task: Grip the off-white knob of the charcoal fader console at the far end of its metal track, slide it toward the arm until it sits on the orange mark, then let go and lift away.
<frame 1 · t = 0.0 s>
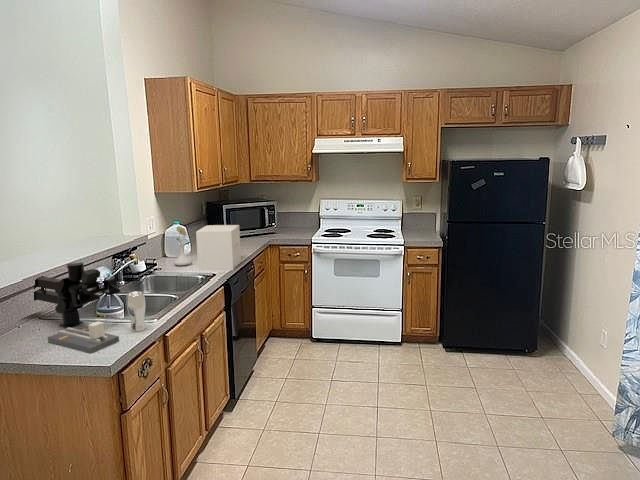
hand: (109, 294, 177), 17 cm above the worktop, tool horizontal, fingers open, 9 cm apart
beer glass: (138, 329, 185), on the worktop
fader console: (83, 341, 173), on the worktop
flower in vase: (182, 264, 294), on the worktop
cube: (220, 266, 291), on the worktop
fader knob: (96, 331, 169), point 5 cm above the worktop, slide at 8.0 cm
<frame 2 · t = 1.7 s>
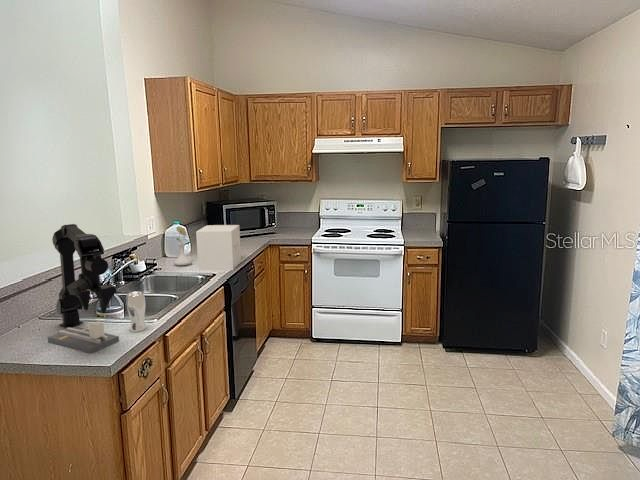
hand: (94, 311, 167), 13 cm above the worktop, tool pointing down, fingers open, 9 cm apart
nothing on the worktop moved.
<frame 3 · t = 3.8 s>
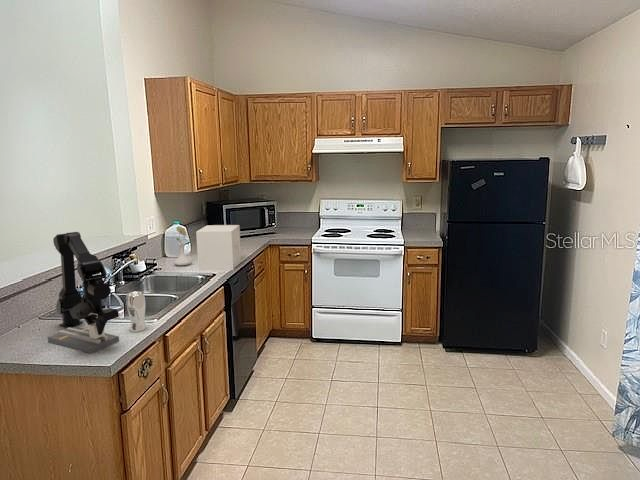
hand: (97, 333, 169), 5 cm above the worktop, tool pointing down, fingers closed on fader knob, 3 cm apart
fader knob: (96, 331, 169), point 5 cm above the worktop, slide at 8.0 cm, touching gripper
everything else where it was.
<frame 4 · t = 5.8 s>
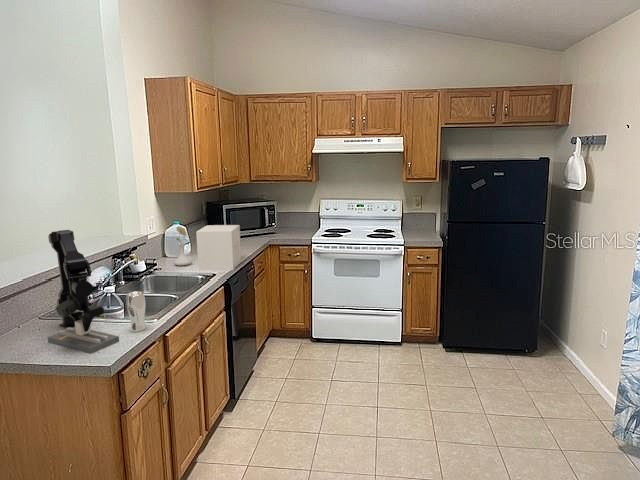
hand: (83, 330, 172), 4 cm above the worktop, tool pointing down, fingers closed on fader knob, 3 cm apart
fader knob: (83, 328, 172), point 5 cm above the worktop, slide at 0.4 cm, touching gripper
everything else where it was.
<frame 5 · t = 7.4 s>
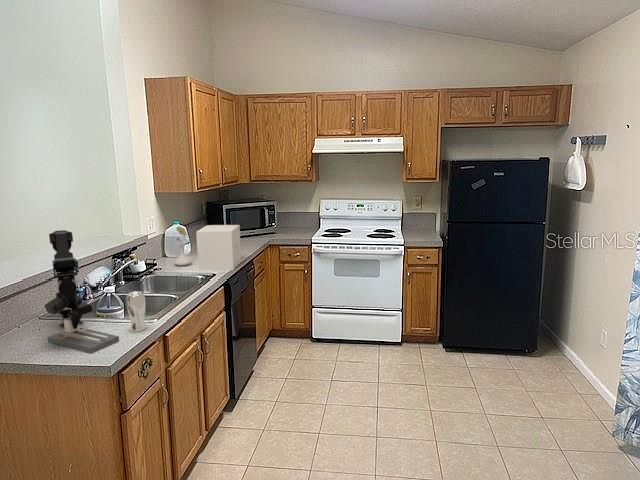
hand: (72, 328, 175), 4 cm above the worktop, tool pointing down, fingers closed on fader knob, 3 cm apart
fader knob: (71, 325, 175), point 5 cm above the worktop, slide at -5.9 cm, touching gripper
everything else where it was.
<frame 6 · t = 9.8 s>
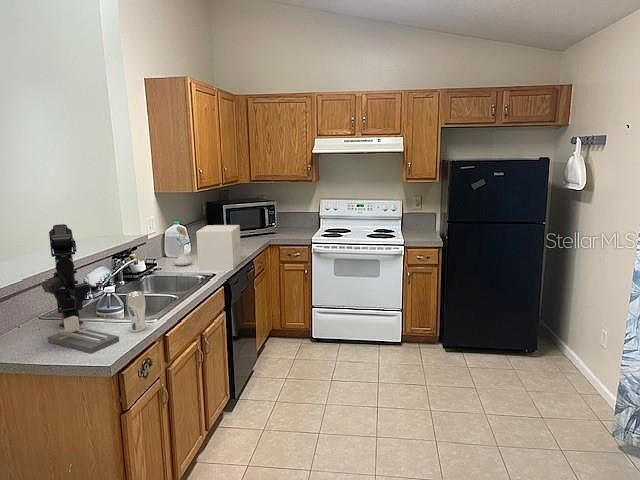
hand: (69, 308, 174), 12 cm above the worktop, tool pointing down, fingers open, 9 cm apart
fader knob: (71, 325, 175), point 5 cm above the worktop, slide at -6.0 cm
everything else where it was.
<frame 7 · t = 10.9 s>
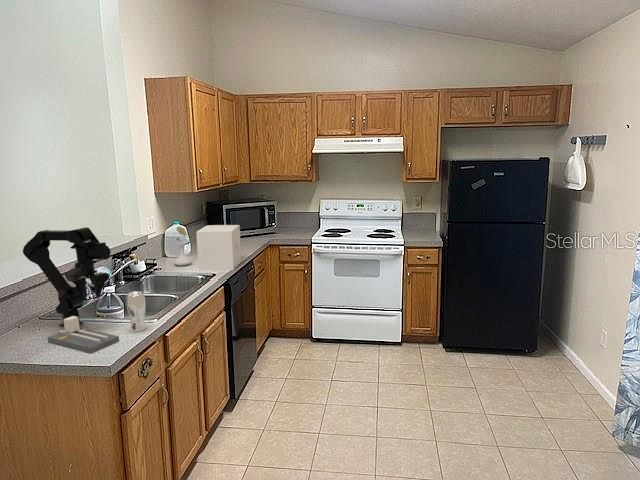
hand: (90, 296, 186), 13 cm above the worktop, tool pointing down, fingers open, 9 cm apart
nothing on the worktop moved.
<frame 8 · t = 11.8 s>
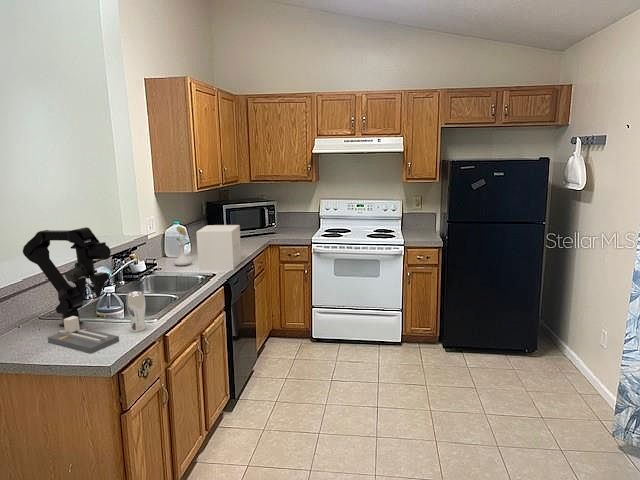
hand: (90, 296, 186), 13 cm above the worktop, tool pointing down, fingers open, 9 cm apart
nothing on the worktop moved.
at the end: fader knob slide at -6.0 cm; the gripper is holding nothing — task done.
